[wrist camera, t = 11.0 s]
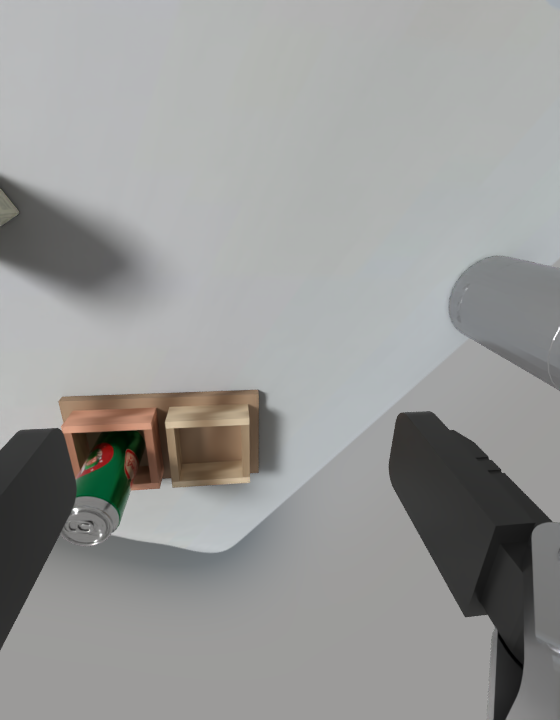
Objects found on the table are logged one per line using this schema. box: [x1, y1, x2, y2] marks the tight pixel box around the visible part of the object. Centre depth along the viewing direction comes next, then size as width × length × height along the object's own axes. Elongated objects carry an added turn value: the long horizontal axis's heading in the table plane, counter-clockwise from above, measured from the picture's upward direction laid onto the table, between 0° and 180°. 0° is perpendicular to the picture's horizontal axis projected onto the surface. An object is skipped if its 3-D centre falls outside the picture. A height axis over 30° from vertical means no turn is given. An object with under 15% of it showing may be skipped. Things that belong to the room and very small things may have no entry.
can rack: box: [58, 390, 259, 490], centre depth 41 cm, size 21×11×4 cm, turn 89°
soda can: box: [60, 430, 145, 546], centre depth 36 cm, size 5×5×12 cm
